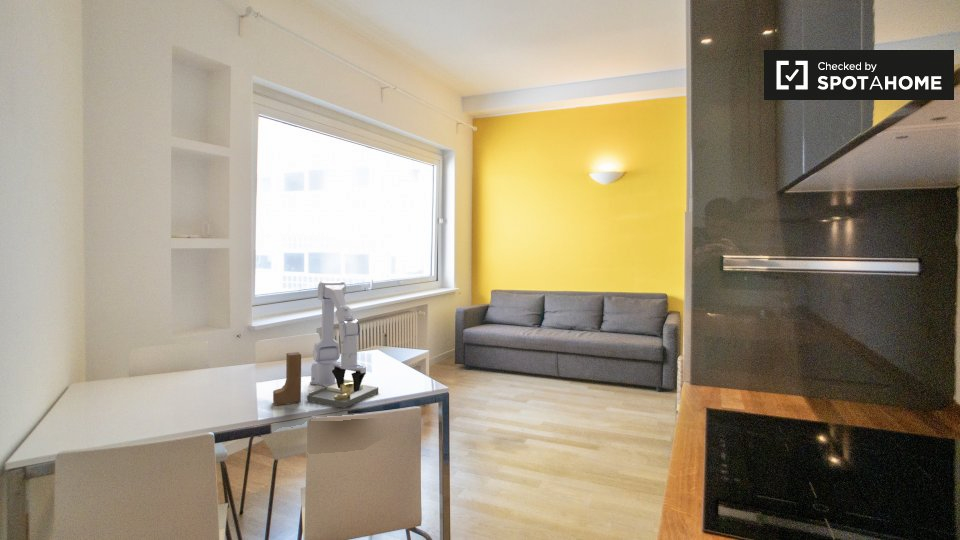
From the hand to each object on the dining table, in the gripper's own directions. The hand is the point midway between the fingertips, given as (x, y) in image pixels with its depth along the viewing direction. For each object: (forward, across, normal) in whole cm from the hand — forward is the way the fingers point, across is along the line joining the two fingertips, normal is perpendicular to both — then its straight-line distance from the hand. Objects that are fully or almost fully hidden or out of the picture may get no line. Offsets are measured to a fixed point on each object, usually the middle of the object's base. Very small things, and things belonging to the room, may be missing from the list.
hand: (348, 389), depth 186 cm
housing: (+5, +6, -5) cm, 9 cm away
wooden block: (+5, +19, +12) cm, 23 cm away
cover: (+3, +8, -7) cm, 11 cm away
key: (+3, 0, +1) cm, 3 cm away
